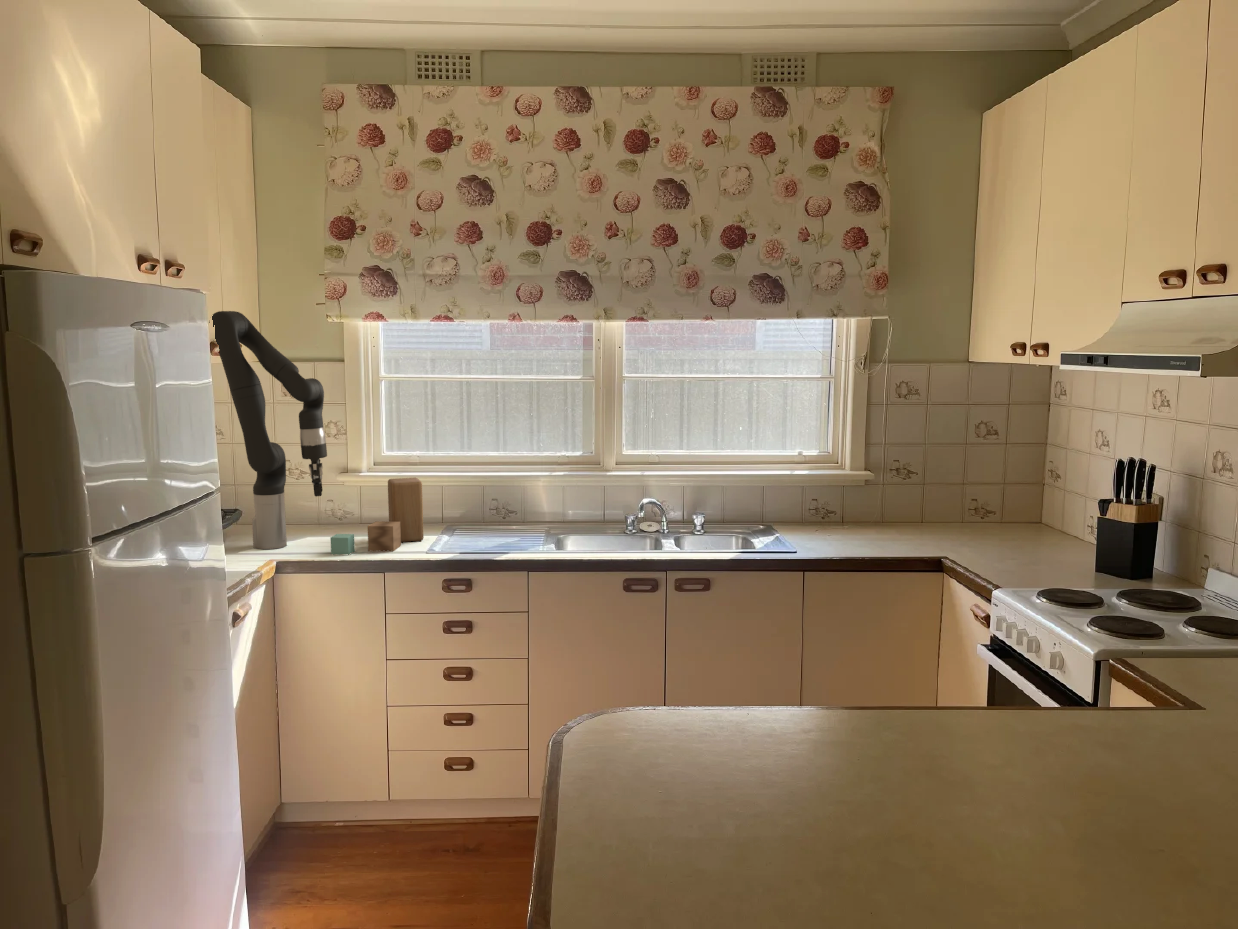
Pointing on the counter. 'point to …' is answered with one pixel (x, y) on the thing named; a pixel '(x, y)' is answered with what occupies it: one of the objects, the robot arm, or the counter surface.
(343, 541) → the teal cube
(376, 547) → the walnut block
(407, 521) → the block
